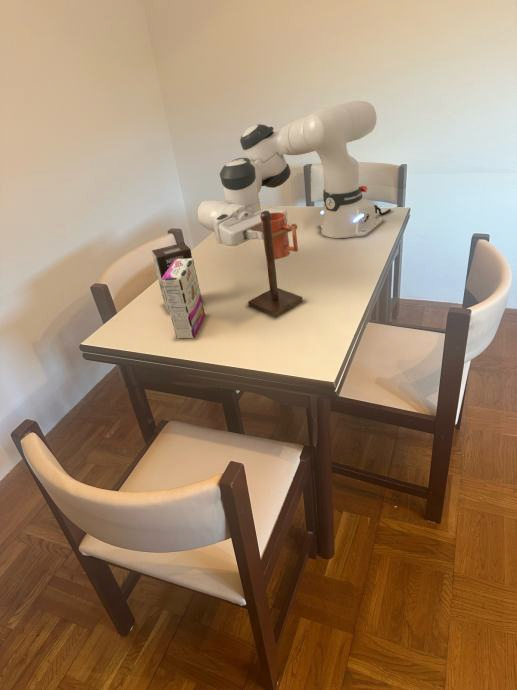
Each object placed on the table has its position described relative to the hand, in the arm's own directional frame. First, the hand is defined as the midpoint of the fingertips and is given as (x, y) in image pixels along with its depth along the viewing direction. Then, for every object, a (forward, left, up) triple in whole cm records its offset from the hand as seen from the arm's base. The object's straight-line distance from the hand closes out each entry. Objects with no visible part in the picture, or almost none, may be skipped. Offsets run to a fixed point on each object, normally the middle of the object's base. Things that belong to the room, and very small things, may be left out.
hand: (274, 230), depth 123 cm
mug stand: (+3, +4, -17) cm, 18 cm away
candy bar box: (+27, -5, -18) cm, 33 cm away
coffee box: (+21, -17, -18) cm, 32 cm away
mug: (0, +2, -6) cm, 7 cm away
